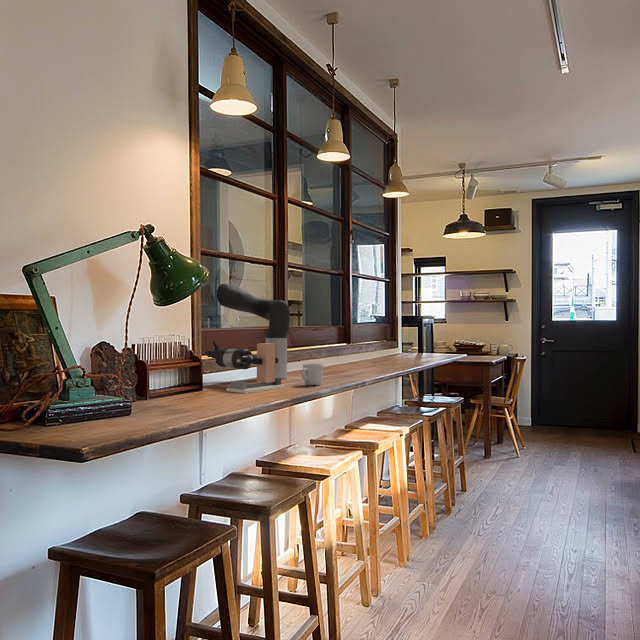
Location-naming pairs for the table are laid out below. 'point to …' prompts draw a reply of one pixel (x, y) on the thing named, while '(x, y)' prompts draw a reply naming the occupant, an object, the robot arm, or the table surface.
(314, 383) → the cup
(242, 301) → the robot arm
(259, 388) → the rail board
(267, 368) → the block
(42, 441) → the table surface
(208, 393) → the table surface
